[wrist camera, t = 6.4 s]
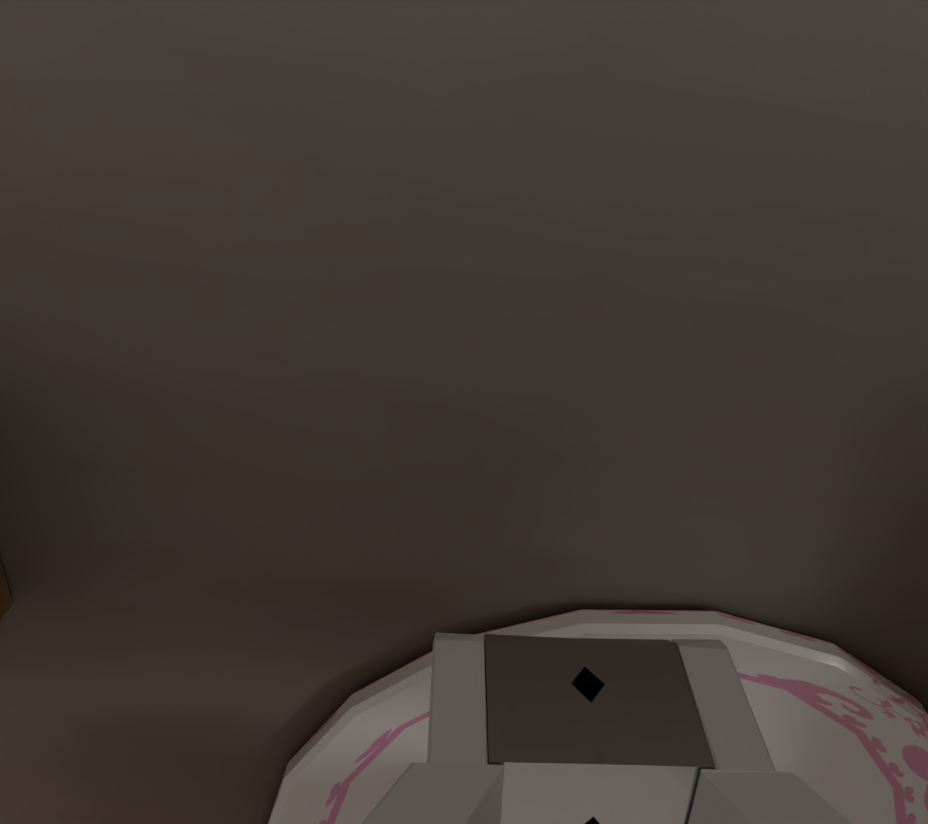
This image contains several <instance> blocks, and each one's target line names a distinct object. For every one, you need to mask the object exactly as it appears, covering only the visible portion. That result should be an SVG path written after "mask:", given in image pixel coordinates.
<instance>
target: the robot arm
mask: <svg viewBox="0 0 928 824" xmlns="http://www.w3.org/2000/svg"><path fill="white" fill-rule="evenodd" d="M362 824H852V823H851V822H850V821H848V820H847V819H846V818H845V817H844V816H843V815H841V814H840V813H839V812H838V811H837V810H836V809H834V808H833V807H832V806H831V805H830V804H829V803H827V802H826V801H825V800H824V799H823V798H822V797H820V796H819V795H818V794H817V793H816V792H815V791H813V790H812V789H811V788H810V787H809V786H808V785H806V784H805V783H804V782H803V781H802V780H801V779H799V778H798V777H797V776H796V775H795V774H794V773H793V772H782V771H776V769H775V767H774V764H773V762H772V759H771V757H770V754H769V751H768V749H767V746H766V744H765V741H764V739H763V736H762V734H761V731H760V729H759V726H758V724H757V721H756V719H755V716H754V714H753V711H752V709H751V706H750V704H749V701H748V698H747V696H746V693H745V691H744V688H743V686H742V683H741V681H740V678H739V676H738V673H737V671H736V668H735V666H734V663H733V661H732V658H731V656H730V653H729V650H728V648H727V646H726V645H725V644H724V643H723V642H722V641H721V640H699V639H672V640H671V641H670V640H658V639H599V638H557V637H537V636H517V635H497V634H484V639H483V635H474V634H456V633H437V632H436V633H435V637H434V642H433V654H432V674H431V693H430V712H429V732H428V751H427V763H411V764H410V766H409V767H408V768H407V769H406V770H405V772H404V773H403V774H402V775H401V776H400V778H399V779H398V780H397V781H396V783H395V784H394V785H393V786H392V787H391V789H390V790H389V791H388V792H387V793H386V795H385V796H384V797H383V798H382V799H381V801H380V802H379V803H378V804H377V805H376V807H375V808H374V809H373V810H372V812H371V813H370V814H369V815H368V816H367V818H366V819H365V820H364V821H363V822H362Z"/></svg>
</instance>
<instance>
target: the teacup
mask: <svg viewBox="0 0 928 824" xmlns="http://www.w3.org/2000/svg"><path fill="white" fill-rule="evenodd" d="M484 634H497V635H517V636H537V637H557V638H599V639H658V640H670V641H671V640H672V639H699V640H721V641H722V642H723V643H724V644H725V645H726V646H727V648H728V650H729V653H730V656H731V658H732V661H733V663H734V666H735V668H736V671H737V673H738V676H739V678H740V681H741V683H742V686H743V688H744V691H745V693H746V696H747V698H748V701H749V704H750V706H751V709H752V711H753V714H754V716H755V719H756V721H757V724H758V726H759V729H760V731H761V734H762V736H763V739H764V741H765V744H766V746H767V749H768V751H769V754H770V757H771V759H772V762H773V764H774V767H775V769H776V771H782V772H793V773H794V774H795V775H796V776H797V777H798V778H799V779H801V780H802V781H803V782H804V783H805V784H806V785H808V786H809V787H810V788H811V789H812V790H813V791H815V792H816V793H817V794H818V795H819V796H820V797H822V798H823V799H824V800H825V801H826V802H827V803H829V804H830V805H831V806H832V807H833V808H834V809H836V810H837V811H838V812H839V813H840V814H841V815H843V816H844V817H845V818H846V819H847V820H848V821H850V822H851V823H852V824H928V714H927V712H926V711H925V709H924V708H923V706H922V705H921V703H920V701H919V700H918V699H917V698H915V697H914V696H912V695H911V694H909V693H908V692H906V691H905V690H903V689H902V688H900V687H899V686H897V685H896V684H894V683H892V682H891V681H889V680H888V679H886V678H885V677H883V676H882V675H880V674H879V673H877V672H876V671H874V670H873V669H871V668H870V667H868V666H867V665H865V664H864V663H862V662H861V661H859V660H858V659H856V658H855V657H853V656H852V655H850V654H849V653H847V652H846V651H844V650H843V649H841V648H840V647H838V646H837V645H835V644H834V643H831V642H827V641H823V640H820V639H816V638H812V637H809V636H805V635H801V634H798V633H794V632H790V631H787V630H783V629H779V628H776V627H772V626H769V625H765V624H761V623H758V622H754V621H750V620H747V619H743V618H739V617H736V616H732V615H728V614H725V613H721V612H717V611H689V610H591V609H581V610H576V611H572V612H568V613H564V614H559V615H555V616H551V617H547V618H542V619H538V620H534V621H529V622H525V623H521V624H517V625H512V626H508V627H504V628H500V629H495V630H491V631H487V632H483V633H478V634H474V635H483V639H484ZM432 654H433V651H431V652H429V653H427V654H425V655H424V656H422V657H420V658H418V659H416V660H414V661H412V662H411V663H409V664H407V665H405V666H403V667H401V668H399V669H398V670H396V671H394V672H392V673H390V674H388V675H386V676H384V677H383V678H381V679H379V680H377V681H375V682H373V683H371V684H370V685H368V686H366V687H364V688H362V689H360V690H358V691H357V692H355V693H353V694H352V695H351V696H350V697H349V698H348V699H347V700H346V701H345V702H344V703H343V704H342V705H341V706H340V707H339V709H338V710H337V711H336V712H335V713H334V714H333V715H332V716H331V717H330V718H329V719H328V720H327V721H326V722H325V723H324V725H323V726H322V727H321V728H320V729H319V730H318V731H317V732H316V733H315V734H314V735H313V736H312V737H311V738H310V739H309V741H308V742H307V743H306V744H305V745H304V746H303V747H302V748H301V749H300V750H299V751H298V752H297V753H296V754H295V755H294V757H293V758H292V759H291V760H290V761H289V762H288V764H287V767H286V770H285V773H284V775H283V778H282V781H281V784H280V787H279V790H278V793H277V796H276V799H275V802H274V805H273V808H272V810H271V813H270V816H269V819H268V822H267V824H362V822H363V821H364V820H365V819H366V818H367V816H368V815H369V814H370V813H371V812H372V810H373V809H374V808H375V807H376V805H377V804H378V803H379V802H380V801H381V799H382V798H383V797H384V796H385V795H386V793H387V792H388V791H389V790H390V789H391V787H392V786H393V785H394V784H395V783H396V781H397V780H398V779H399V778H400V776H401V775H402V774H403V773H404V772H405V770H406V769H407V768H408V767H409V766H410V764H411V763H427V751H428V732H429V712H430V693H431V674H432Z"/></svg>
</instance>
